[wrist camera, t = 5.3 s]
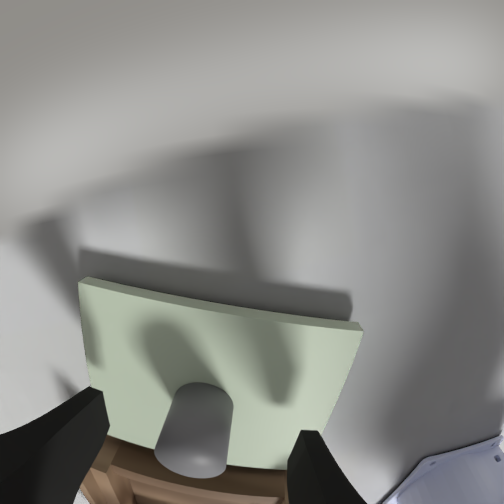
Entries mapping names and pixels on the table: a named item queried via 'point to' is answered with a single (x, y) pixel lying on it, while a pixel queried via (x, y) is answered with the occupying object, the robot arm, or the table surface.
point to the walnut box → (174, 481)
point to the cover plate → (211, 375)
